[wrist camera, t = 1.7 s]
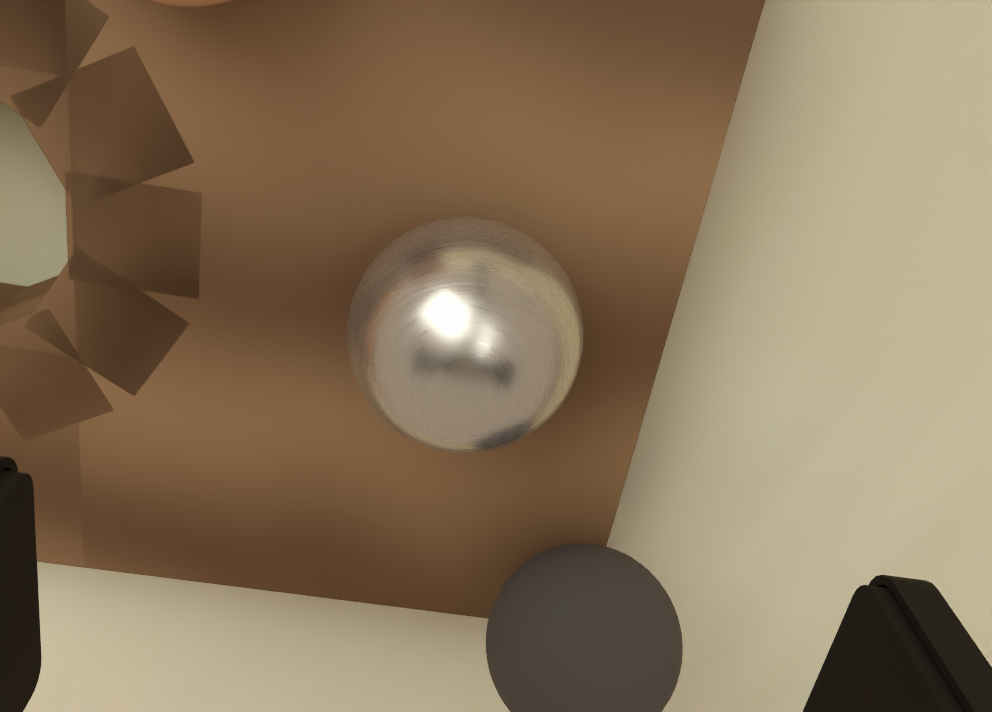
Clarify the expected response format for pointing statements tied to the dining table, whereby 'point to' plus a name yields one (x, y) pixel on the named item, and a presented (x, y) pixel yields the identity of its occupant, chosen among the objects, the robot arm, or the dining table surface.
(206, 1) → the terracotta ball
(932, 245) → the dining table surface
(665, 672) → the black ball
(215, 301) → the board
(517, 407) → the steel ball
